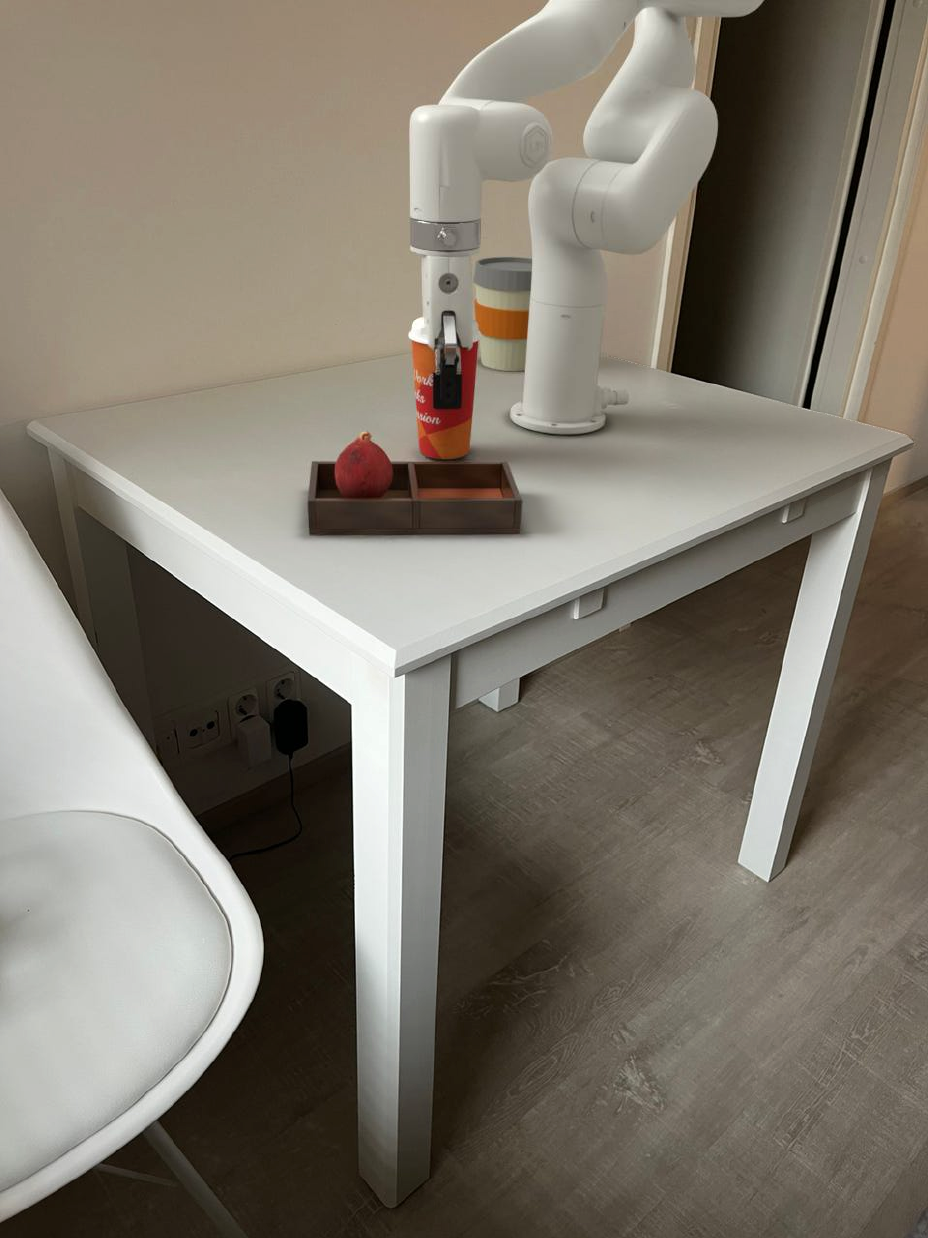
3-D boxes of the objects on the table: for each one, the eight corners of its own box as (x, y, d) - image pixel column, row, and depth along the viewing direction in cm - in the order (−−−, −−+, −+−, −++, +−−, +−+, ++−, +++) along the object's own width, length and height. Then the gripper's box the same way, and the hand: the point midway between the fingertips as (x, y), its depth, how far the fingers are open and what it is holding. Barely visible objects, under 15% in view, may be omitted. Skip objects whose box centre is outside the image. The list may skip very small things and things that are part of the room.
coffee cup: (408, 437, 119) (406, 313, 111) (475, 437, 119) (478, 313, 111) (411, 463, 111) (409, 332, 104) (482, 462, 112) (485, 332, 104)
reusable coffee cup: (487, 349, 160) (492, 253, 153) (559, 359, 156) (568, 262, 148) (457, 366, 150) (460, 265, 142) (533, 378, 146) (541, 274, 138)
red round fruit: (369, 523, 96) (368, 446, 92) (323, 509, 99) (321, 433, 95) (403, 505, 100) (403, 430, 96) (358, 492, 103) (357, 419, 99)
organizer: (505, 492, 106) (507, 461, 104) (520, 533, 97) (522, 500, 95) (313, 492, 104) (311, 460, 102) (309, 535, 94) (307, 500, 93)
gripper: (490, 251, 96) (484, 420, 105) (471, 223, 111) (468, 373, 120) (414, 251, 95) (415, 421, 104) (406, 222, 110) (407, 373, 119)
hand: (443, 394), depth 112 cm, fingers closed on coffee cup, 8 cm apart
